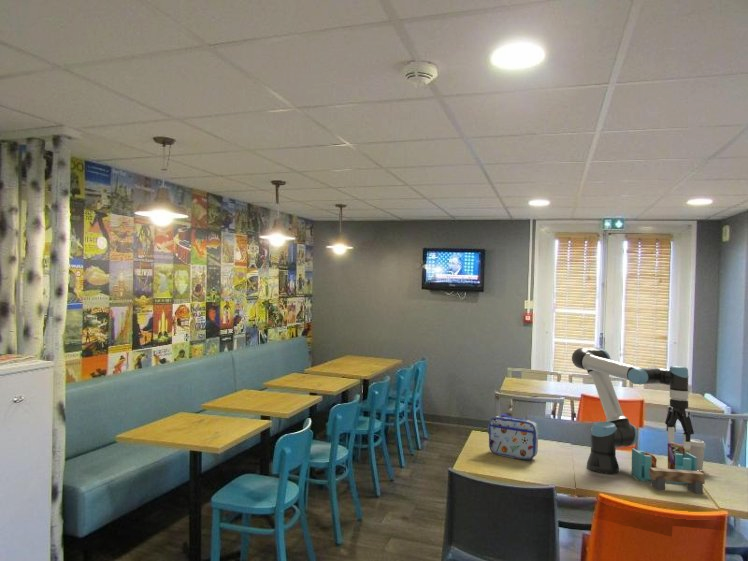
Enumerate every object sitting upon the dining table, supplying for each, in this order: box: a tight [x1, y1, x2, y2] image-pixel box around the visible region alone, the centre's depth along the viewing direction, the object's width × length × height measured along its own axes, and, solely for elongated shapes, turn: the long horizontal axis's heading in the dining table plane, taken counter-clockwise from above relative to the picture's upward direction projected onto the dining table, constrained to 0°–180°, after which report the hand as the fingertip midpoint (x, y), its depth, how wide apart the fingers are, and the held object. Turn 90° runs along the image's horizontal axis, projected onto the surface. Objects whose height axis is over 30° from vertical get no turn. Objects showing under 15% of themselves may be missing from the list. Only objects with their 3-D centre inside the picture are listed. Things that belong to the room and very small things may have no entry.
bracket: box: [631, 447, 697, 486], centre depth 241 cm, size 26×9×13 cm, turn 83°
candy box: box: [667, 441, 689, 469], centre depth 250 cm, size 9×4×15 cm, turn 26°
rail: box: [649, 467, 706, 485], centre depth 228 cm, size 22×4×4 cm, turn 83°
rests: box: [651, 478, 704, 495], centre depth 228 cm, size 19×7×5 cm, turn 83°
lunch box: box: [486, 413, 539, 461], centre depth 271 cm, size 28×10×22 cm, turn 58°
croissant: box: [644, 451, 658, 468], centre depth 266 cm, size 21×10×8 cm, turn 167°
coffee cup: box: [689, 438, 707, 472], centre depth 261 cm, size 10×10×15 cm
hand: (678, 444), depth 232 cm, fingers open, 13 cm apart
